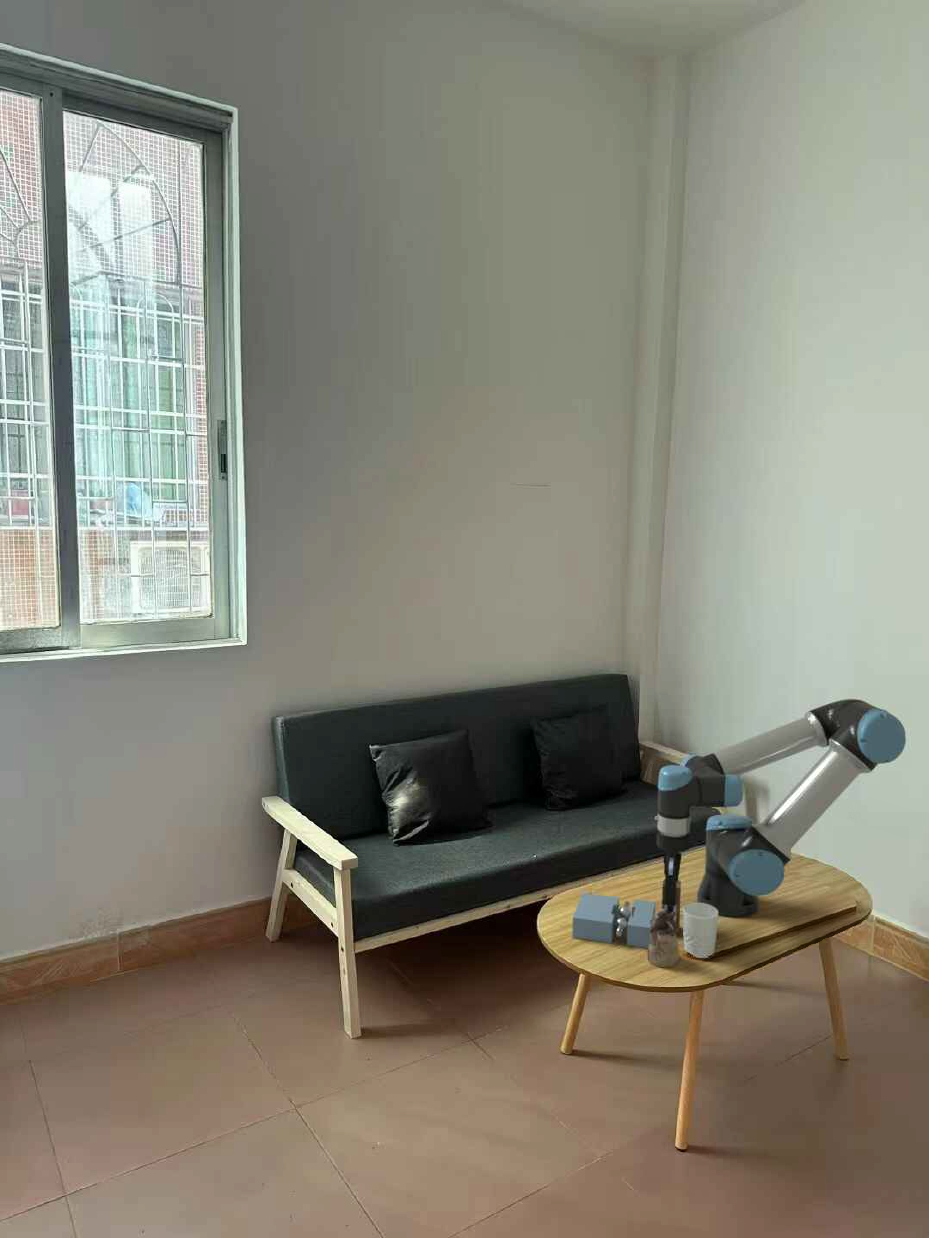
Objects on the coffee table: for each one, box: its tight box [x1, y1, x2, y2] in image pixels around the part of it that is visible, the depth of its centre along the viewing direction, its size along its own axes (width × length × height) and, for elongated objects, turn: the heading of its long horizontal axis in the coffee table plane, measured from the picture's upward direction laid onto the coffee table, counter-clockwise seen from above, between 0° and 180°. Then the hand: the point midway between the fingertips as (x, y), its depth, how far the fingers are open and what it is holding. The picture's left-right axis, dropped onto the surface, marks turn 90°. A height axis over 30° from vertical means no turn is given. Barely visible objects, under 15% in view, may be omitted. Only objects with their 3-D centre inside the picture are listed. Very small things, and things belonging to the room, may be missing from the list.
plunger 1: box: [618, 901, 632, 920], centre depth 219 cm, size 3×6×3 cm, turn 163°
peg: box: [661, 878, 682, 936], centre depth 213 cm, size 4×4×12 cm
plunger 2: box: [614, 917, 628, 938], centre depth 210 cm, size 3×6×3 cm, turn 163°
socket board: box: [572, 892, 656, 949], centre depth 215 cm, size 18×14×5 cm
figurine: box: [646, 908, 680, 968], centre depth 200 cm, size 7×7×12 cm
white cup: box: [682, 902, 719, 959], centre depth 204 cm, size 8×8×10 cm
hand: (670, 924), depth 214 cm, fingers closed on peg, 4 cm apart
